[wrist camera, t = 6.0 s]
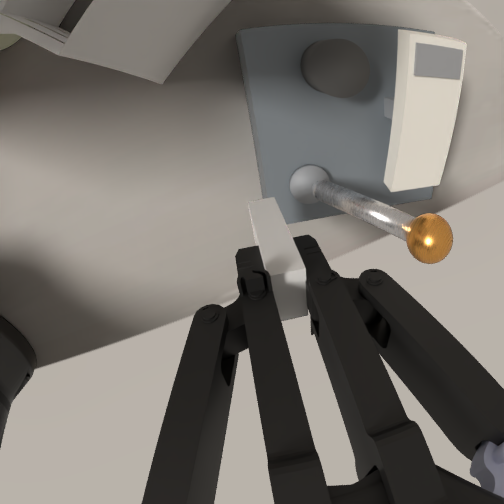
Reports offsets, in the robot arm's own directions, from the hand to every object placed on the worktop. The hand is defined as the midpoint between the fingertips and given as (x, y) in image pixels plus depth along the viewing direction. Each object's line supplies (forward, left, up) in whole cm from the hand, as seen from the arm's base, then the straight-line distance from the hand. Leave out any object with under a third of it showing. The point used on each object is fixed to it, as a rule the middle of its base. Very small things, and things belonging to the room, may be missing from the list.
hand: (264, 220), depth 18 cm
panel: (+8, +4, -8) cm, 12 cm away
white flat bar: (+11, +5, -1) cm, 12 cm away
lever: (+4, 0, -3) cm, 5 cm away
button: (+6, +8, -4) cm, 10 cm away
